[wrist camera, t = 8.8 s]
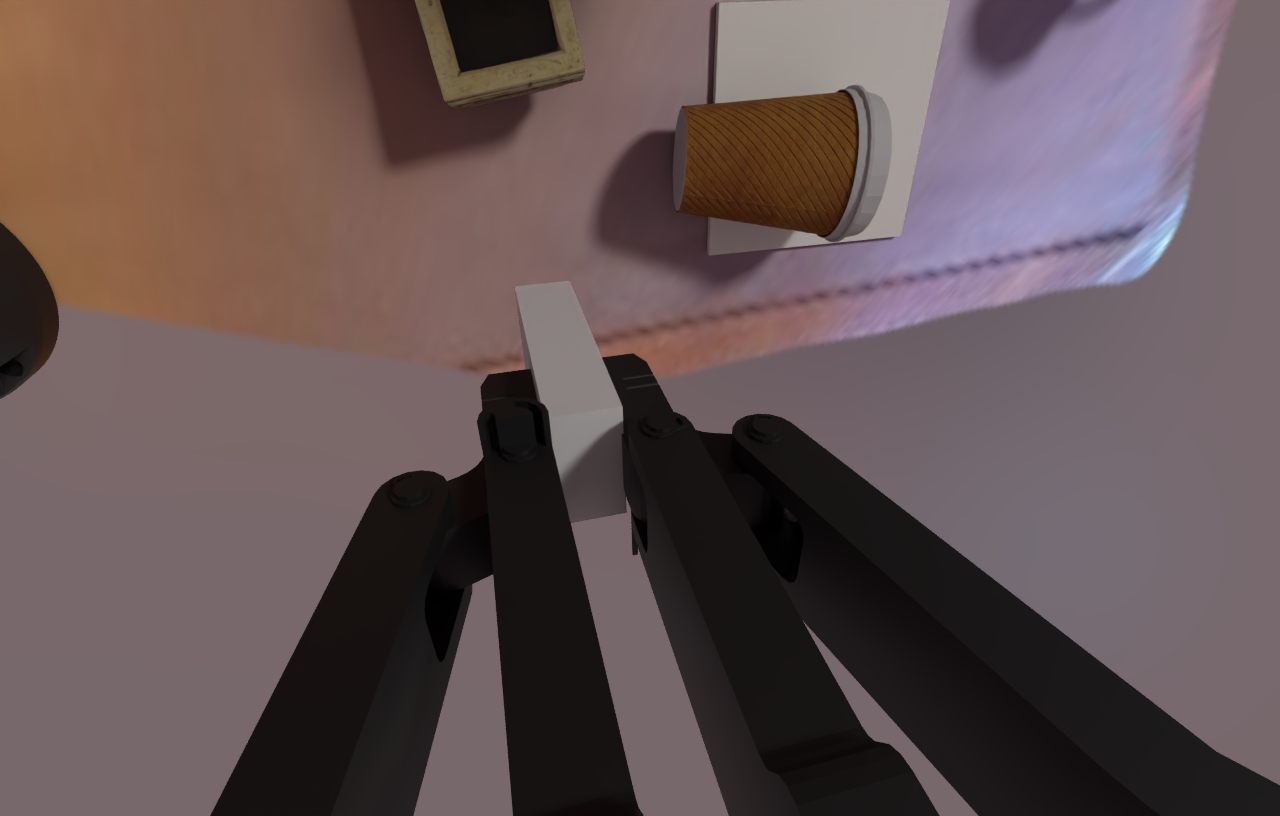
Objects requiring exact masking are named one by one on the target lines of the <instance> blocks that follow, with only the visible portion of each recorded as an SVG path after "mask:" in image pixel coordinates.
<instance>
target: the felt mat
mask: <svg viewBox="0 0 1280 816" xmlns="http://www.w3.org/2000/svg"><path fill="white" fill-rule="evenodd" d="M949 3H950V0H792V1H756V2H720V3H717V6H716V32H715V57H714V83H713V104H715V103H726V102H737V101H748V100H760V99H771V98H781V97H792V96H803V95H814V94H824V93H835V92H837V91H838V90H840V89H845V88H847V87H848V86H851V85H860V86H862V87H864V89H865V90H866V91H867V92H870V93H873V94H876V95H878V96H880V97H882V98H883V100H884V102H885V103H886V105H887V108H888V110H889V113H890V119H891V128H892V154H891V161H890V168H889V174H888V178H887V182H886V186H885V190H884V193H883V197H882V199H881V202H880V204H879V207H878V209H877V212H876V214H875V216H874V217H873V219H872V221H871V222H870V224H869V225H868V226H867V227H866V229H865V230H864V231H863V232H861V233H859V234H857V235H854V236H849V237H845V238H844V239H843V240H841V241H839V242H848V241H857V240H867V239H877V238H887V237H897V236H901V233H902V228H903V223H904V218H905V214H906V209H907V204H908V199H909V194H910V190H911V185H912V180H913V175H914V171H915V166H916V161H917V156H918V151H919V147H920V142H921V137H922V132H923V128H924V123H925V118H926V113H927V108H928V104H929V99H930V94H931V89H932V85H933V80H934V75H935V70H936V65H937V61H938V56H939V51H940V46H941V41H942V37H943V32H944V27H945V22H946V18H947V13H948V8H949ZM828 243H838V242H829V241H827V240H826V239H825V238H821V237H819V236H817V235H816V234H813V233H805V232H800V231H794V230H786V229H780V228H775V227H768V226H761V225H756V224H749V223H743V222H736V221H731V220H724V219H717V218H712V217H708V238H707V254H708V255H709V256H711V255H720V254H730V253H740V252H750V251H760V250H769V249H779V248H789V247H799V246H808V245H818V244H828Z"/></svg>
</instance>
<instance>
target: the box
mask: <svg viewBox="0 0 1280 816" xmlns="http://www.w3.org/2000/svg"><path fill="white" fill-rule="evenodd" d="M414 2H415V5H416V8H417V12H418V15H419V18H420V22H421V25H422V28H423V31H424V35H425V38H426V41H427V45H428V48H429V52H430V55H431V59H432V62H433V66H434V69H435V73H436V76H437V80H438V83H439V86H440V89H441V92H442V95H443V98H444V101H445V102H446V103H447V104H448V105H449V106H450V107H451V108H453V109H454V110H456V109H461V108H465V107H474V106H479V105H483V104H487V103H491V102H495V101H499V100H504V99H509V98H513V97H517V96H521V95H526V94H530V93H535V92H539V91H544V90H548V89H552V88H556V87H559V86H563V85H565V84H569V83H573V82H577V81H581V80H582V79H583V76H584V74H585V65H584V61H583V56H582V52H581V47H580V43H579V38H578V34H577V29H576V25H575V20H574V16H573V11H572V7H571V2H570V0H414Z"/></svg>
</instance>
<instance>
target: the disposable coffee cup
mask: <svg viewBox="0 0 1280 816" xmlns="http://www.w3.org/2000/svg"><path fill="white" fill-rule="evenodd" d="M891 154H892V128H891V119H890V113H889V110H888V108H887V105H886V103H885V102H884V100H883V98H882V97H880V96H878V95H876V94H873V93H870V92H867V91H866V90H865V89H864V87H862V86H860V85H851V86H848V87H847V88H845V89H840V90H838V91H837V92H835V93H824V94H814V95H803V96H792V97H781V98H771V99H760V100H748V101H737V102H726V103H715V104H704V105H692V106H682V108H681V109H680V112H679V116H678V120H677V125H676V132H675V142H674V156H673V200H674V206H675V209H676V212H681V213H687V214H693V215H700V216H706V217H712V218H717V219H724V220H731V221H736V222H743V223H749V224H756V225H761V226H768V227H775V228H780V229H786V230H794V231H800V232H805V233H813V234H816V235H817V236H819V237H821V238H825V239H826V240H827V241H829V242H839V241H841V240H843V239H844V238H845V237H849V236H854V235H857V234H859V233H861V232H863V231H864V230H865V229H866V227H867V226H868V225H869V224H870V222H871V221H872V219H873V217H874V216H875V214H876V212H877V209H878V207H879V204H880V202H881V199H882V197H883V193H884V190H885V186H886V182H887V178H888V174H889V168H890V161H891Z"/></svg>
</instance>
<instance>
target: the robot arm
mask: <svg viewBox="0 0 1280 816" xmlns="http://www.w3.org/2000/svg"><path fill="white" fill-rule="evenodd" d="M515 294H516V301H517V309H518V316H519V324H520V331H521V339H522V346H523V354H524V361H525V368H526V369H525V370H518V371H511V372H503V373H496V374H489V375H488V376H487V378H486V379H485V381H484V382H483V384H482V385H481V399H482V410H483V411H482V412H481V413H480V414H479V417H478V420H477V424H478V430H479V435H480V440H481V445H482V450H483V456H484V457H483V459H482V460H481V462H480V463H479V464H478V465H477V466H476V467H475V468H473V469H472V470H470V471H469V472H467V473H465V474H463V475H461V476H459V477H457V478H454V479H452V480H449V481H446V479H445V478H444V477H443V476H441V475H439V474H437V473H435V472H431V471H414V472H407V473H404V474H401V475H399V476H396V477H393V478H392V479H390V480H389V481H387V482H386V483H384V484H383V485H381V487H380V488H379V489H378V490H377V492H376V493H375V494H374V496H373V498H372V500H371V502H370V504H369V506H368V508H367V509H366V511H365V513H364V515H363V517H362V520H361V521H360V523H359V525H358V527H357V529H356V531H355V533H354V535H353V537H352V539H351V541H350V543H349V545H348V547H347V549H346V551H345V553H344V555H343V557H342V558H341V560H340V562H339V565H338V566H337V569H336V570H335V572H334V574H333V576H332V578H331V580H330V582H329V584H328V586H327V588H326V590H325V592H324V594H323V596H322V598H321V600H320V602H319V604H318V606H317V607H316V609H315V612H314V613H313V615H312V617H311V619H310V621H309V623H308V625H307V627H306V629H305V631H304V633H303V635H302V637H301V639H300V641H299V643H298V645H297V647H296V649H295V651H294V653H293V655H292V657H291V658H290V660H289V662H288V665H287V666H286V668H285V670H284V672H283V674H282V676H281V678H280V680H279V682H278V684H277V686H276V688H275V690H274V692H273V694H272V696H271V698H270V700H269V702H268V704H267V706H266V708H265V709H264V711H263V713H262V715H261V718H260V719H259V722H258V723H257V725H256V727H255V729H254V731H253V733H252V735H251V737H250V739H249V741H248V743H247V745H246V747H245V749H244V751H243V753H242V755H241V757H240V759H239V760H238V763H237V764H236V766H235V768H234V770H233V772H232V774H231V776H230V778H229V780H228V782H227V784H226V786H225V788H224V790H223V792H222V794H221V796H220V798H219V800H218V802H217V804H216V806H215V808H214V810H213V811H212V813H211V815H210V816H413V815H414V811H415V807H416V803H417V800H418V796H419V792H420V788H421V784H422V781H423V777H424V773H425V769H426V766H427V761H428V758H429V754H430V750H431V746H432V743H433V739H434V735H435V731H436V728H437V724H438V720H439V716H440V712H441V709H442V705H443V701H444V697H445V694H446V690H447V686H448V682H449V678H450V674H451V671H452V667H453V663H454V659H455V655H456V652H457V648H458V644H459V641H460V637H461V633H462V629H463V625H464V622H465V618H466V614H467V610H468V607H469V603H470V599H471V595H472V584H473V583H475V582H478V581H480V580H482V579H484V578H486V577H488V576H490V575H492V574H493V576H494V588H495V600H496V612H497V625H498V637H499V649H500V661H501V674H502V686H503V698H504V710H505V722H506V734H507V746H508V759H509V771H510V783H511V795H512V807H513V816H643V814H642V812H641V811H640V809H639V807H638V804H637V801H636V798H635V794H634V790H633V786H632V781H631V777H630V773H629V769H628V765H627V760H626V756H625V752H624V748H623V743H622V739H621V735H620V730H619V726H618V722H617V718H616V714H615V709H614V705H613V701H612V697H611V693H610V688H609V684H608V680H607V675H606V671H605V667H604V663H603V659H602V654H601V650H600V646H599V641H598V637H597V633H596V629H595V624H594V620H593V616H592V612H591V607H590V604H589V599H588V595H587V590H586V586H585V582H584V578H583V574H582V569H581V565H580V561H579V556H578V552H577V548H576V544H575V540H574V536H573V532H572V527H571V523H573V522H578V521H583V520H589V519H595V518H600V517H605V516H611V515H616V514H621V513H626V512H627V511H626V497H627V500H628V503H629V505H630V508H631V524H632V550H633V551H632V552H633V555H637V554H638V549H639V552H640V554H641V558H642V561H643V564H644V567H645V569H646V572H647V575H648V578H649V581H650V584H651V587H652V590H653V593H654V596H655V599H656V602H657V605H658V608H659V611H660V614H661V616H662V620H663V623H664V626H665V629H666V631H667V634H668V637H669V640H670V643H671V646H672V649H673V652H674V655H675V658H676V661H677V664H678V666H679V670H680V673H681V676H682V678H683V681H684V684H685V687H686V690H687V693H688V696H689V699H690V702H691V705H692V708H693V711H694V714H695V717H696V720H697V723H698V726H699V728H700V732H701V735H702V738H703V741H704V744H705V747H706V750H707V753H708V755H709V758H710V761H711V764H712V767H713V770H714V773H715V776H716V779H717V782H718V785H719V788H720V791H721V794H722V797H723V800H724V802H725V805H726V809H727V811H728V814H729V816H939V814H938V813H937V811H936V809H935V808H934V806H933V804H932V802H931V801H930V799H929V797H928V796H927V794H926V792H925V791H924V789H923V787H922V786H921V784H920V782H919V781H918V779H917V777H916V776H915V774H914V772H913V771H912V769H911V768H910V766H909V765H908V764H907V762H906V761H905V760H904V758H903V757H902V755H901V754H900V753H899V752H898V751H896V750H895V749H894V748H893V747H892V746H891V745H890V744H886V743H881V742H876V741H874V740H873V739H872V738H870V737H869V736H868V735H867V733H866V732H865V730H864V729H863V727H862V726H861V724H860V722H859V720H858V719H857V717H856V715H855V713H854V711H853V710H852V708H851V706H850V704H849V703H848V701H847V699H846V697H845V695H844V694H843V692H842V690H841V688H840V686H839V685H838V683H837V681H836V679H835V678H834V676H833V674H832V672H831V671H830V669H829V667H828V665H827V663H826V662H825V660H824V658H823V656H822V654H821V653H820V651H819V649H818V647H817V646H816V644H815V642H814V640H813V639H812V637H811V635H810V633H809V631H808V630H807V628H806V626H805V624H804V622H805V623H806V624H807V626H808V627H809V628H810V629H811V630H812V631H813V632H814V633H815V634H816V636H817V637H818V638H819V639H820V640H821V641H822V642H823V643H824V644H825V646H826V647H827V648H828V649H829V650H830V651H831V652H832V653H833V654H834V656H835V657H836V658H837V659H838V660H839V661H840V662H841V663H842V664H843V666H844V667H845V668H846V669H847V670H848V671H849V672H850V673H851V674H852V676H853V677H854V678H855V679H856V680H857V681H858V682H859V683H860V684H861V686H862V687H863V688H864V689H865V690H866V691H867V692H868V693H869V694H870V695H871V697H872V698H873V699H874V700H875V701H876V702H877V703H878V704H879V705H880V707H881V708H882V709H883V710H884V711H885V712H886V713H887V714H888V716H889V717H890V718H891V719H892V720H893V721H894V722H895V723H896V724H897V726H898V727H899V728H900V729H901V730H902V731H903V732H904V733H905V734H906V735H907V737H908V738H909V739H910V740H911V741H912V742H913V743H914V744H915V746H917V748H918V749H919V750H920V751H921V752H922V753H923V754H924V756H925V757H926V758H927V759H928V760H929V761H930V762H931V763H932V764H933V766H934V767H935V768H936V769H937V770H938V771H939V772H940V773H941V774H942V776H943V777H944V778H945V779H946V780H947V781H948V782H949V783H950V784H951V786H952V787H953V788H954V789H955V790H956V791H957V792H958V793H959V794H960V796H961V797H962V798H963V799H964V800H965V801H966V802H967V803H968V804H969V805H970V807H972V809H973V810H974V811H975V812H976V813H977V814H978V816H1280V785H1278V784H1276V783H1274V782H1272V781H1271V780H1269V779H1267V778H1265V777H1263V776H1261V775H1259V774H1257V773H1255V772H1253V771H1252V770H1250V769H1248V768H1246V767H1244V766H1242V765H1240V764H1239V763H1237V762H1235V761H1233V760H1231V759H1229V758H1227V757H1225V756H1223V755H1221V754H1220V753H1218V752H1216V751H1215V750H1213V749H1212V748H1211V747H1209V746H1208V745H1207V744H1206V743H1204V742H1203V741H1202V740H1201V739H1199V738H1198V737H1197V736H1195V735H1194V734H1193V733H1191V732H1190V731H1189V730H1188V729H1186V728H1185V727H1184V726H1183V725H1181V724H1180V723H1179V722H1177V721H1176V720H1175V719H1173V718H1172V717H1171V716H1170V715H1168V714H1167V713H1166V712H1164V711H1163V710H1162V709H1161V708H1159V707H1158V706H1157V705H1155V704H1154V703H1153V702H1152V701H1150V700H1149V699H1148V698H1146V697H1145V696H1144V695H1142V694H1141V693H1140V692H1139V691H1137V690H1136V689H1135V688H1133V687H1132V686H1131V685H1129V684H1128V683H1127V682H1125V681H1124V680H1123V679H1122V678H1120V677H1119V676H1118V675H1117V674H1115V673H1114V672H1113V671H1111V670H1110V669H1109V668H1108V667H1106V666H1105V665H1104V664H1102V663H1101V662H1100V661H1099V660H1097V659H1096V658H1094V657H1093V656H1092V655H1091V654H1090V653H1088V652H1087V651H1085V650H1084V649H1083V648H1082V647H1080V646H1079V645H1078V644H1077V643H1075V642H1074V641H1073V640H1071V639H1070V638H1069V637H1068V636H1066V635H1065V634H1064V633H1062V632H1061V631H1060V630H1058V629H1057V628H1056V627H1055V626H1053V625H1052V624H1051V623H1049V622H1048V621H1047V620H1046V619H1044V618H1043V617H1042V616H1040V615H1039V614H1038V613H1036V612H1035V611H1034V610H1033V609H1031V608H1030V607H1029V606H1027V605H1026V604H1025V603H1024V602H1022V601H1021V600H1020V599H1018V598H1017V597H1016V596H1014V595H1013V594H1012V593H1011V592H1009V591H1008V590H1007V589H1005V588H1004V587H1003V586H1002V585H1000V584H999V583H998V582H996V581H995V580H994V579H993V578H991V577H990V576H989V575H987V574H986V573H985V572H984V571H982V570H981V569H980V568H978V567H977V566H976V565H975V564H973V563H972V562H971V561H969V560H968V559H967V558H965V557H964V556H963V555H962V554H960V553H959V552H958V551H956V550H955V549H954V548H952V547H951V546H950V545H949V544H947V543H946V542H945V541H944V540H942V539H940V537H938V536H937V535H936V534H934V533H933V532H932V531H931V530H929V529H928V528H927V527H925V526H924V525H923V524H922V523H920V522H919V521H918V520H916V519H915V518H914V517H912V516H911V515H910V514H909V513H907V512H906V511H905V510H903V509H902V508H901V507H899V506H898V505H897V504H896V503H894V502H893V501H892V500H891V499H889V498H888V497H887V496H885V495H884V494H883V493H881V492H880V491H879V490H878V489H876V488H875V487H874V486H872V485H871V484H870V483H869V482H867V481H866V480H865V479H863V478H862V477H861V476H860V475H858V474H857V473H856V472H854V471H853V470H852V469H850V468H849V467H848V466H847V465H845V464H844V463H843V462H841V461H840V460H839V459H837V458H836V457H835V456H834V455H832V454H831V453H830V452H828V451H827V450H826V449H825V448H823V447H822V446H821V445H819V444H818V443H817V442H816V441H814V440H813V439H812V438H810V437H809V436H808V435H806V434H805V433H804V432H803V431H801V430H800V429H799V428H797V427H796V426H795V425H793V424H792V423H791V422H789V421H787V420H785V419H783V418H781V417H778V416H774V415H770V414H754V415H750V416H745V417H743V418H741V419H740V420H738V421H737V422H736V423H735V425H734V426H733V430H732V434H722V433H708V432H701V431H698V430H695V428H694V427H693V425H692V423H691V422H690V421H689V420H688V419H687V418H686V417H685V416H682V415H680V414H678V413H676V412H673V410H672V408H671V407H670V405H669V403H668V401H667V399H666V397H665V395H664V394H663V392H662V390H661V388H660V386H659V385H658V382H657V380H656V379H655V377H654V376H653V373H652V371H651V369H650V367H649V366H648V364H647V362H646V361H644V360H643V359H641V358H640V357H638V356H636V355H635V354H633V353H632V354H625V355H617V356H610V357H603V358H602V357H601V354H600V352H599V350H598V347H597V345H596V343H595V340H594V338H593V335H592V333H591V331H590V328H589V326H588V324H587V321H586V319H585V317H584V314H583V312H582V309H581V307H580V305H579V302H578V300H577V298H576V295H575V293H574V291H573V288H572V286H571V283H570V281H561V282H552V283H543V284H534V285H525V286H516V287H515ZM58 330H59V316H58V308H57V304H56V300H55V297H54V294H53V291H52V289H51V286H50V284H49V282H48V280H47V278H46V276H45V274H44V272H43V271H42V269H41V268H40V266H39V264H38V263H37V262H36V260H35V259H34V257H33V256H32V255H31V254H30V252H29V251H28V250H27V249H26V247H25V246H24V245H23V244H22V243H21V242H20V241H19V240H18V239H17V238H16V237H15V236H14V235H13V234H12V233H11V232H10V231H9V230H8V229H7V228H6V227H5V226H4V225H3V224H1V223H0V399H1V398H3V397H5V396H6V395H8V394H10V393H11V392H13V391H14V390H16V389H17V388H18V387H19V386H21V385H22V384H23V383H24V382H25V381H26V380H27V379H28V378H30V377H31V376H32V375H33V374H35V373H36V372H37V371H38V370H39V369H40V368H41V367H42V366H43V365H44V364H45V362H46V361H47V360H48V358H49V357H50V355H51V353H52V351H53V349H54V346H55V344H56V340H57V336H58ZM802 620H803V621H804V622H803V621H802Z"/></svg>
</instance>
